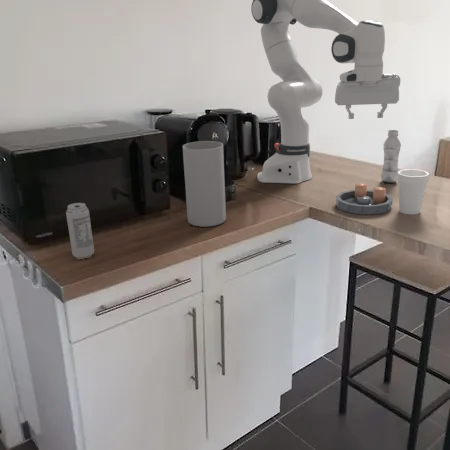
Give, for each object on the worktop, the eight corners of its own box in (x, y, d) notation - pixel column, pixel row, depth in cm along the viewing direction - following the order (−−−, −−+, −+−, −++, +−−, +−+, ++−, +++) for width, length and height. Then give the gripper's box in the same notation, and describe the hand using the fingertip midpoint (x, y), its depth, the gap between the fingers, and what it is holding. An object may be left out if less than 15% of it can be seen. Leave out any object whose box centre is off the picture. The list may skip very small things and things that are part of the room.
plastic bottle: (395, 179, 203) (400, 129, 195) (399, 184, 196) (404, 132, 189) (379, 179, 203) (382, 129, 196) (382, 184, 197) (386, 132, 190)
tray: (341, 215, 166) (342, 206, 165) (332, 198, 183) (333, 190, 182) (397, 214, 166) (398, 205, 164) (383, 197, 182) (384, 189, 181)
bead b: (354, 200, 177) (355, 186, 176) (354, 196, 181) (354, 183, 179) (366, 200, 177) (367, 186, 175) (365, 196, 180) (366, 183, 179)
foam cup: (425, 217, 162) (429, 177, 158) (394, 215, 165) (398, 176, 160) (423, 207, 171) (427, 169, 166) (394, 205, 173) (397, 168, 169)
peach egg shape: (386, 204, 172) (387, 190, 170) (374, 204, 172) (374, 190, 170) (383, 200, 176) (384, 186, 174) (371, 201, 176) (372, 187, 174)
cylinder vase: (233, 222, 165) (230, 145, 156) (199, 230, 159) (195, 151, 150) (213, 211, 175) (209, 139, 166) (181, 219, 168) (175, 144, 160)
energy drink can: (91, 249, 148) (84, 200, 142) (97, 256, 143) (90, 206, 137) (70, 254, 145) (62, 204, 139) (76, 262, 140) (68, 210, 135)
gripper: (398, 72, 166) (394, 115, 171) (334, 75, 167) (333, 117, 172) (403, 74, 160) (400, 118, 165) (338, 76, 161) (336, 120, 166)
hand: (365, 118), depth 169 cm, fingers open, 8 cm apart
